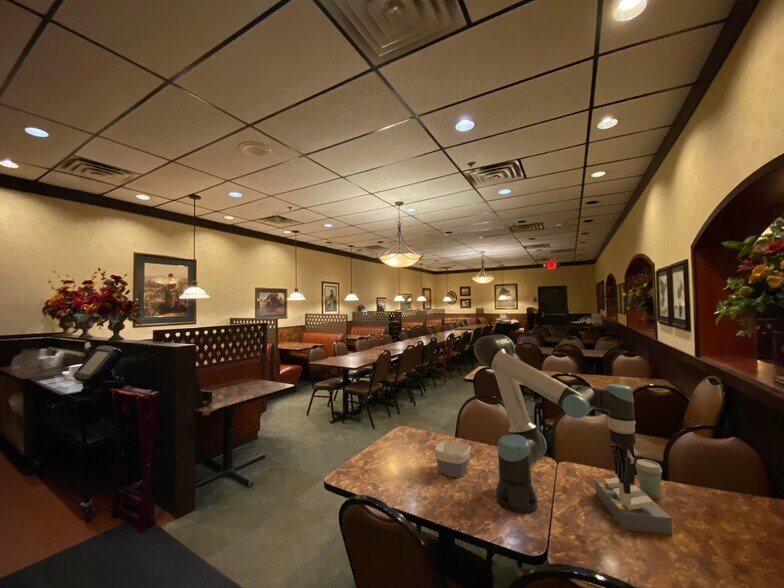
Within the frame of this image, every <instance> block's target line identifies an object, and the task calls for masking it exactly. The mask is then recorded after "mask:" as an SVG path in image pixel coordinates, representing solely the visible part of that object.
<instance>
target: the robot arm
mask: <svg viewBox="0 0 784 588" xmlns="http://www.w3.org/2000/svg"><path fill="white" fill-rule="evenodd" d="M515 347H516V346H515V343H514V342H513V340H512V339H511V338H510V337H509V336H507V335H504V334H493V335H485V336H482V337H479V338H477V340H476V341H475V343H474V346H473V353H474V356H475V357H476V359H477V360H478V361H479V362H481V363H482V364H483V365H485V366H487V367H488V368H489V369H491V370H493V372H494V376H495V379H496V382H497V387H498V389H499V392H500V395H501V398H502V402H503V406H504V409H505V411H506V415H507V418H508V422H509V425H510V426H509V428H508V434H505V435H503V436H500V438H499V439H498V441H497V456H498V473H499V474H498V475H499V476H498V478H499V480H498V483H497V485H496V489H495V501H496V503H497V504H498V505H499V506H500V507H501V508H503V509H505V510H507V511H510V512H513V513H517V514H529V513H533V512H534V511H537V508H538V496H537V495H536V492H535V489H534V486H533V483H532V471H531V470H532V469H531V468H532V467H533V465H535V464H536V463H537V462H538V461H540V460H541V459H542V458H543V457H544V456H545V454H546V451H547V441H546V438H545V437H544V435H543V434H542V433H541V432H540V431H539V429H538V428H537V425H536V424H535V423H534V422H532V420H531V418H530V414H529V411H528V409H527V405H526V401H525V399H524V396H523V392H522V391H521V386H520V384H522V385H523V386H525V387H527V388H528V389H531V390H532V391H534V392H536V393H538V394H539V395H541V396H542V397H543V398H546V399H547V400H549V401H551V402H553V403H555V404H556V405H557V406H559V407H561V408H562V410H563V411H564V412H565V414H566V415H567V416H568V417H570V418H572V419H582V418H584V417H587V416H588V415H589V414H590V412H591V411H593V410H599V411H605V412H607V413H608V415H607V419H608V420H607V421H608V428H609V429H608V434H609V435H608V439H609V441H611V442H613V443H611V444H610V449H611V452H612V453H611V454H612V461H613V468H614V475H617V476H616V477H618V479H619V496H620V500H621V501H622V502H626V503H631V488H630V484H633V485H634V483H635V480H636V479H635V478H636V477H635V475H636V467H635V465H636V462H637V460H638V459H637V458H636V457H633V451H632V450H633V449H632V447H633V446H635V445H636V444H637V441H636V437H637V436H636V433H635V431H636V427H635V425H637V423H636V421H635V399H634V395H633V393H634V391H633V389H632V388H631V387H630V386H628V385H625V384H618V383H617V384H616V383H611V384H607V385H606V388H598V387H592V386H591V387H590V386H584V385H575V384H573V385H571V386H570V387H569V386H568V385H566V384H565V383H562V382H561V381H559V380H557V379H556V378H553V377H551V376H549V375H548V374H547V373H544V372H542V371H540V370H538V369H537V368H535V367H533V366H532V365H529V364H528V363H526V362H525V361H522V360H520V359H518V358H517V357H515V356H514V354H515V351H516V348H515ZM519 383H520V384H519Z"/></svg>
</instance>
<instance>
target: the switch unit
mask: <svg viewBox="0 0 784 588" xmlns="http://www.w3.org/2000/svg"><path fill="white" fill-rule="evenodd" d="M594 484H595V494H596V495H597V497H598V499H600V501H602V503H603V504H604V506H605V507H606V508H607V509H608V511H609V512H610V514H611V515H612V516H613V518H615V520H616V522H617V523H618V524H619V525H620V526H621V527H622V529H623V530H626V531H639V532H644V533H645V532H647V533H656V534H657V533H659V534H668V535H673V525H672V518H671V515H669V514H668V513H667V512H666V511H664V509H663V508H661V507H660V506H659V504H657V503H656V502H655V501H654V499H653V498H650V497H649V496H648V495H647V494H646V493H644V492H643V491H642V490H641V489H640V486H638V485H637V484H636V483H635V482H634V485H636V486H637V487H638V488H639V489H640V490H641V491H642V494H643V495H639V496H632V497H633V498H635V497H641V496H646V495H647V496H648V497H649V498H650V499H651V500H652V501H653V504H654V506H652V507H646V508H643V509H644V510H640V509H634V510H628V509H627V508H626V507H625V505H624V504H623V502H622V501H621V500H620V498H618V497H617V496H616V495H615V494H614V492H613V489H615V488H619V487H615V488H609V487H608V486H607V485H606V483H605V480H594ZM634 485H633V484H632V485H630V486H634Z"/></svg>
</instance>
